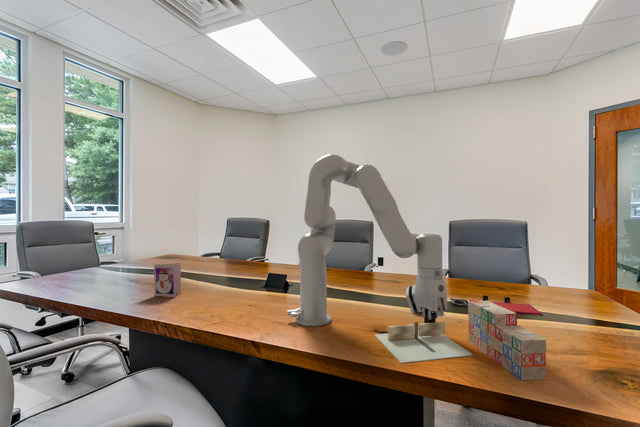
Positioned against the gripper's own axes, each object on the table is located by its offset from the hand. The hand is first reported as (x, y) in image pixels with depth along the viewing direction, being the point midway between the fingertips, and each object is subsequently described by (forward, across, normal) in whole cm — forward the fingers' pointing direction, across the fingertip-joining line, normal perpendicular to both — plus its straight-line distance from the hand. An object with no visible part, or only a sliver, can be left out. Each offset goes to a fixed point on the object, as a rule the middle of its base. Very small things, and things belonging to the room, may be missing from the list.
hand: (429, 330), depth 94 cm
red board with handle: (+2, +12, -43) cm, 45 cm away
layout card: (+1, -5, +8) cm, 10 cm away
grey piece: (+2, +23, -14) cm, 27 cm away
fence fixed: (+1, -1, +11) cm, 11 cm away
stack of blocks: (+1, -20, -6) cm, 21 cm away
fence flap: (0, -2, +1) cm, 3 cm away
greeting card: (+2, +84, +82) cm, 118 cm away
